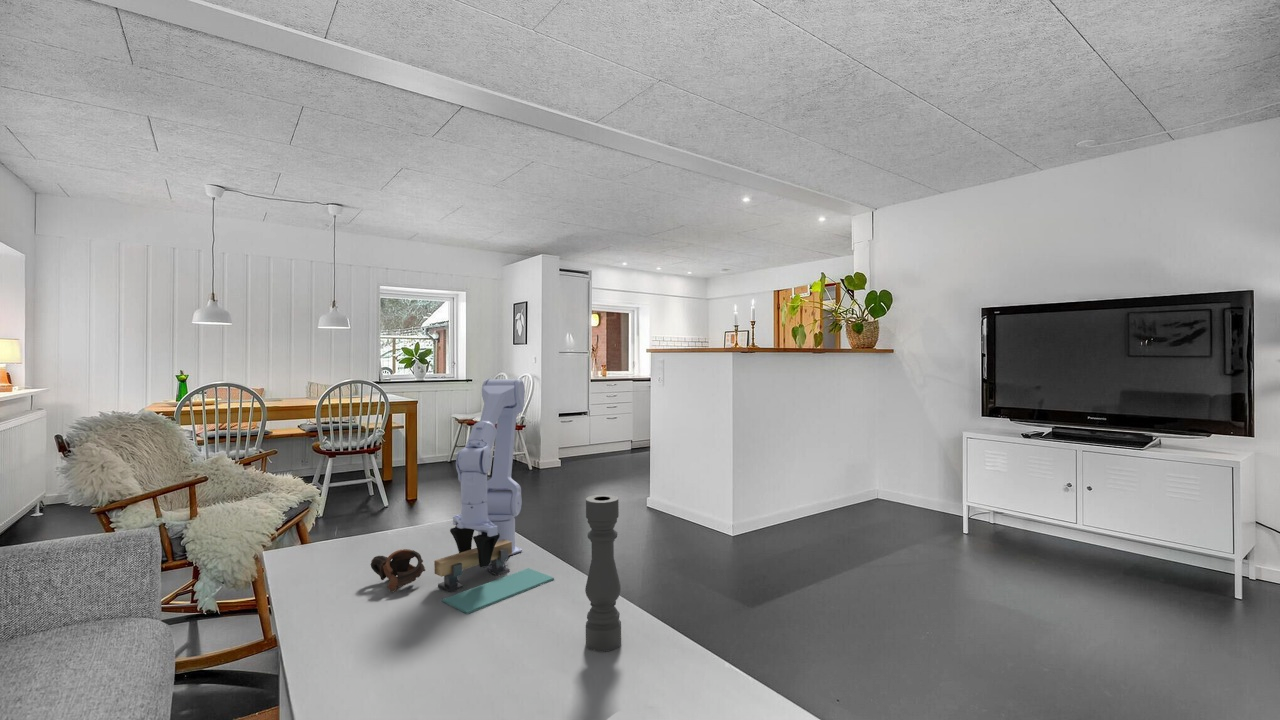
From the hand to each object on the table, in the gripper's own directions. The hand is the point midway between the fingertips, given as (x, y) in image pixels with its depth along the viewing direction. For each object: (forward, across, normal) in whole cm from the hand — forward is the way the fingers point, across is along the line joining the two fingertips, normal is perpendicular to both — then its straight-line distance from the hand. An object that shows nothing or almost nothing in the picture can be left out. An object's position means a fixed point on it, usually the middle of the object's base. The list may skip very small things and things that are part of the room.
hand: (474, 562), depth 128 cm
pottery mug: (+4, -11, -12) cm, 17 cm away
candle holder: (+4, +42, -2) cm, 42 cm away
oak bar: (0, 0, 0) cm, 0 cm away
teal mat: (+4, +10, 0) cm, 10 cm away
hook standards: (+4, 0, 0) cm, 4 cm away
